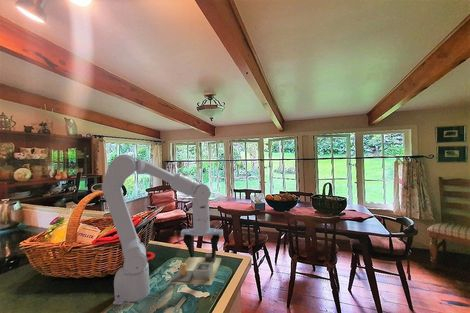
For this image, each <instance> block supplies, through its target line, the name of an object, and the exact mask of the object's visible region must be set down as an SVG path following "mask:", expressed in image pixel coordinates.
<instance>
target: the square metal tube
mask: <svg viewBox="0 0 470 313" xmlns="http://www.w3.org/2000/svg"><path fill="white" fill-rule="evenodd" d="M212 273H213V263H197V265H196V267H195V269H194V270H193V280H210V278H211V276H212Z"/></svg>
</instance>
